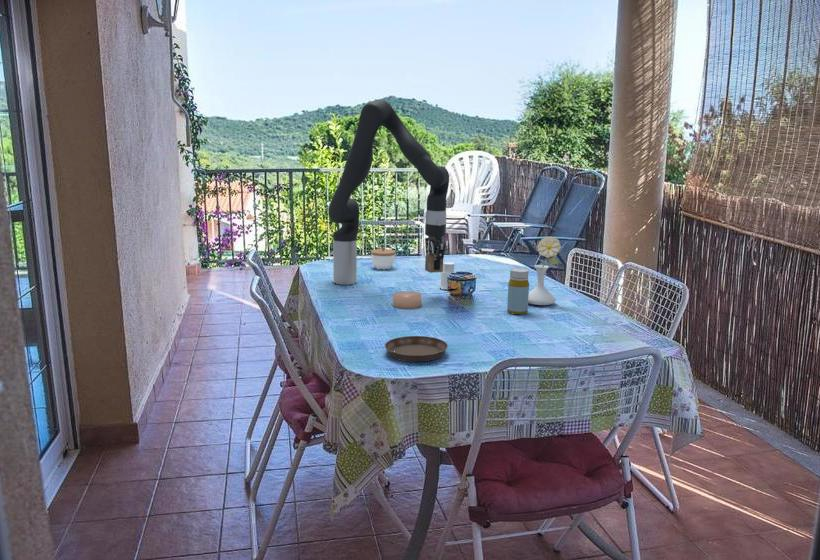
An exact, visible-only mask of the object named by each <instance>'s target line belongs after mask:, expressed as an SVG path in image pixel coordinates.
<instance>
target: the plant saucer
mask: <svg viewBox="0 0 820 560" xmlns="http://www.w3.org/2000/svg"><path fill="white" fill-rule="evenodd" d="M448 345H449V344H448V343H447V342H446V341H444V340H443V339H440V338H436V337H432V336H424V335H423V336H422V335H409V336H401V337H396V338H393V339H390V340H388V341H386V342H385V344H384V348H385V350H386V352H388V354H389V355H390V356H391V357H392V356H393V357H392V358H393V359H396V358H397V359H396V360H398V359H400V360H399V361H402V360H404V361H403V362H407V361H427V362H429V361H428V360H432V361H434V360H433V359H435V360H438V359H439V358H441V357H442V355H444V354H445V352H446V351H447V350H448V347H449V346H448ZM394 351H395V352H394Z"/></svg>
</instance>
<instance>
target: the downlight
mask: <svg viewBox="0 0 820 560" xmlns="http://www.w3.org/2000/svg"><path fill="white" fill-rule="evenodd" d="M455 266H456V265H455V262H443V272H440V286H441V289H440V290H445V289H447V277H448V276H449V275H450V274H451V273H456V274H457V271H455ZM443 288H444V289H443Z"/></svg>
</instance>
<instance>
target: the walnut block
mask: <svg viewBox="0 0 820 560" xmlns="http://www.w3.org/2000/svg"><path fill="white" fill-rule="evenodd" d="M424 259H425V262H424V263H425V265H424V270H425V271H426V272H427V273H428V272H429V273H430V274H431V273H434V274H435V273H441V272H443V263H444V258H443V259H441V260H440V270H434V254H426V253H425V258H424Z"/></svg>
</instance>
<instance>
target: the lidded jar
mask: <svg viewBox="0 0 820 560" xmlns="http://www.w3.org/2000/svg"><path fill="white" fill-rule="evenodd" d="M396 252H397V251H396V250H394V249H390V248H389V249H388V248H385V247H384V246H382V248H377V249H376V248H375V249H372V250H370V257H371V263H372V265H373V266H374V268H375V269H376V268H377V269H376V270H378V269H389V270H390V269H391V268H392V267H393V265H394V264H395V261H396V254H397V253H396Z"/></svg>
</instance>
